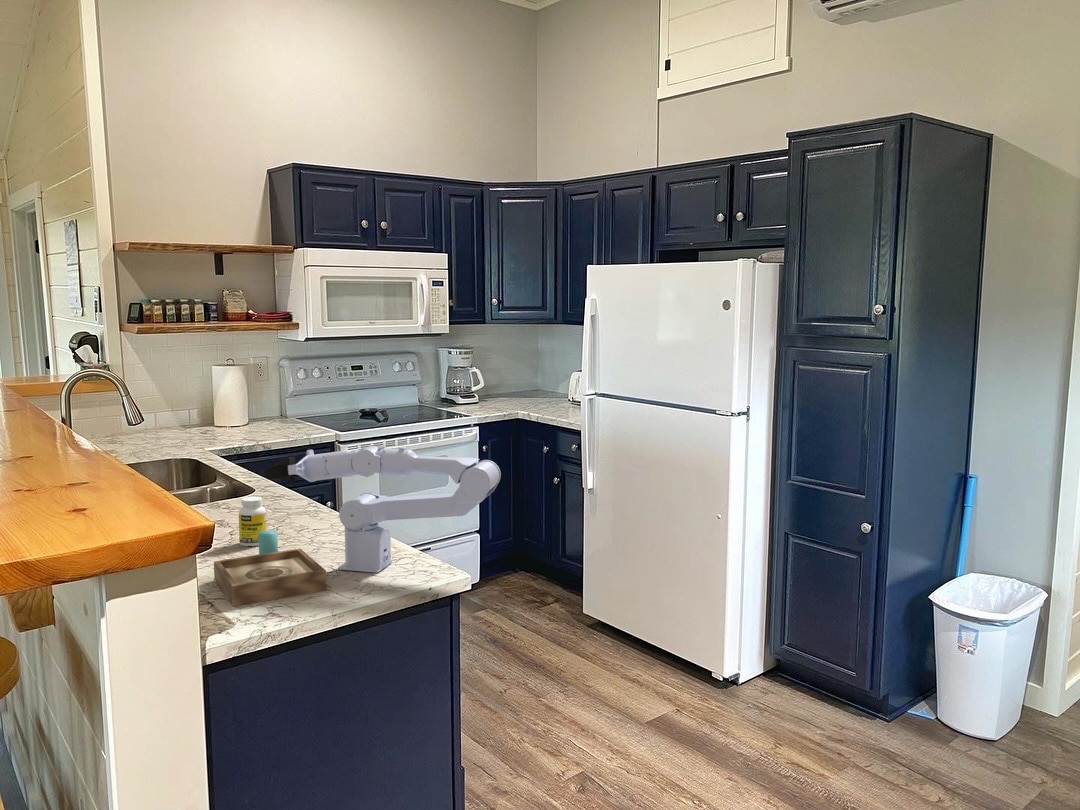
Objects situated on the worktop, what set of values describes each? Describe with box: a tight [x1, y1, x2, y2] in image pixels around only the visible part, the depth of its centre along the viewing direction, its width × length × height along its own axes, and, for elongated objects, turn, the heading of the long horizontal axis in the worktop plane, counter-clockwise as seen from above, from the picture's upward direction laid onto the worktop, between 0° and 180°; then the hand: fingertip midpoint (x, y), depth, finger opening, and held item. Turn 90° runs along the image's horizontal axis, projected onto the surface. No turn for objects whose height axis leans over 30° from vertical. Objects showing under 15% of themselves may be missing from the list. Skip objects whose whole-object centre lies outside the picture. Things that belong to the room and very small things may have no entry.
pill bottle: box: [238, 496, 267, 547], centre depth 197 cm, size 6×6×11 cm
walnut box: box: [213, 548, 328, 607], centre depth 168 cm, size 18×18×4 cm
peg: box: [258, 529, 279, 555], centre depth 182 cm, size 4×4×7 cm
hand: (275, 472), depth 183 cm, fingers open, 7 cm apart
